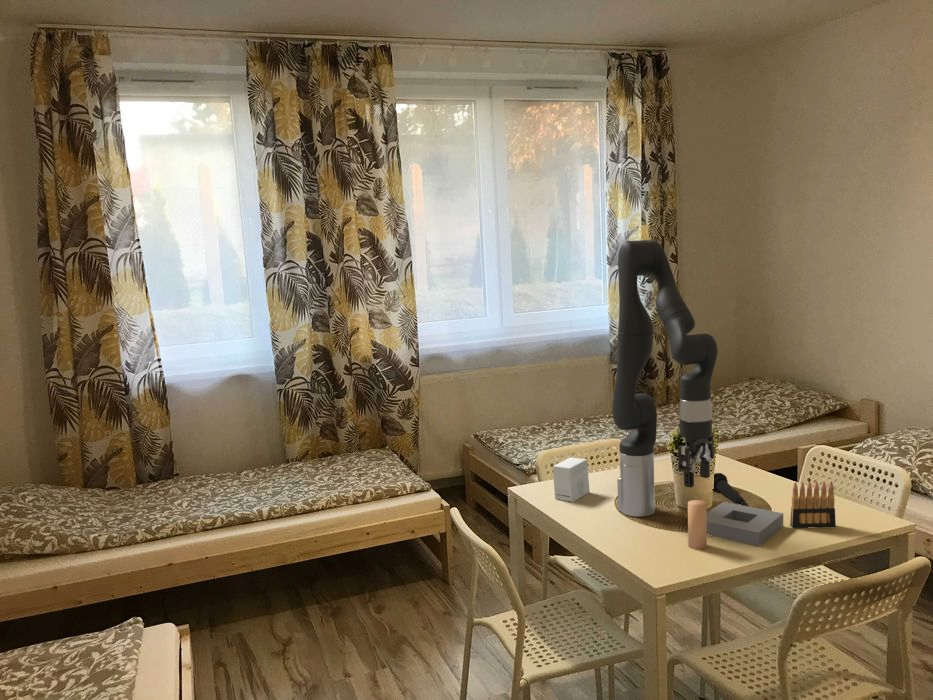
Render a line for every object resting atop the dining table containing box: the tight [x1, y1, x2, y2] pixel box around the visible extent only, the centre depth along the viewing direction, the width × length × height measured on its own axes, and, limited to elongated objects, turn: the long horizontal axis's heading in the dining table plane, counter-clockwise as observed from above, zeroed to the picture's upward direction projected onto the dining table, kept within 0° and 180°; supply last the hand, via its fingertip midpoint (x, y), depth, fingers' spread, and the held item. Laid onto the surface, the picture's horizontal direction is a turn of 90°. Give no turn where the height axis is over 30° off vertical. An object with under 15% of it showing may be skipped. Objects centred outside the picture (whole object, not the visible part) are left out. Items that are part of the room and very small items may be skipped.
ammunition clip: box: [789, 480, 837, 529], centre depth 196 cm, size 11×2×12 cm, turn 85°
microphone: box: [713, 472, 748, 506], centre depth 221 cm, size 6×6×20 cm
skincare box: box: [552, 456, 590, 503], centre depth 230 cm, size 10×6×10 cm, turn 142°
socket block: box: [707, 501, 784, 547], centre depth 197 cm, size 16×16×4 cm
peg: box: [687, 499, 708, 550], centre depth 188 cm, size 4×4×11 cm
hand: (697, 482), depth 186 cm, fingers open, 8 cm apart
